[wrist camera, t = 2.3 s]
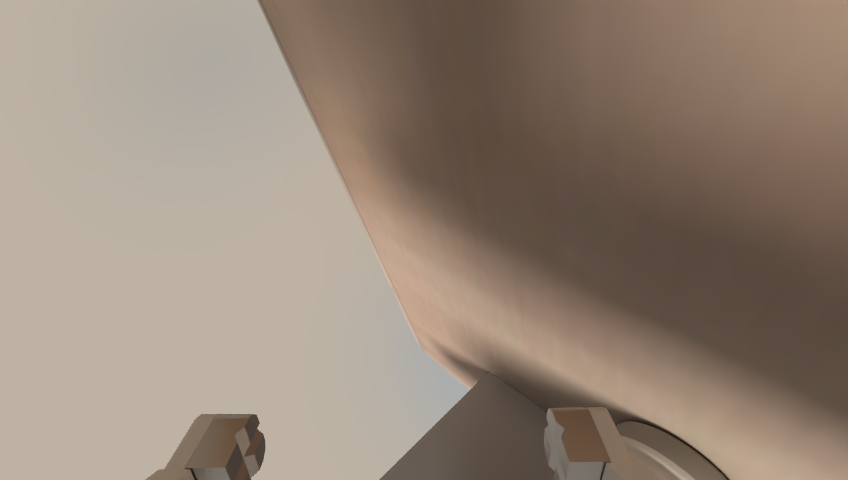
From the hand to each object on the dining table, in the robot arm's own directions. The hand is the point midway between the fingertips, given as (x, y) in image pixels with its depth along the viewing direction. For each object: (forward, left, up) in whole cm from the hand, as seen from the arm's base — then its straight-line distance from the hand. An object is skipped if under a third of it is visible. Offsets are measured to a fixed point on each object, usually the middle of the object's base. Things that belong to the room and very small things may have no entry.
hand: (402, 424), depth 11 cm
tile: (+19, -8, -10) cm, 22 cm away
